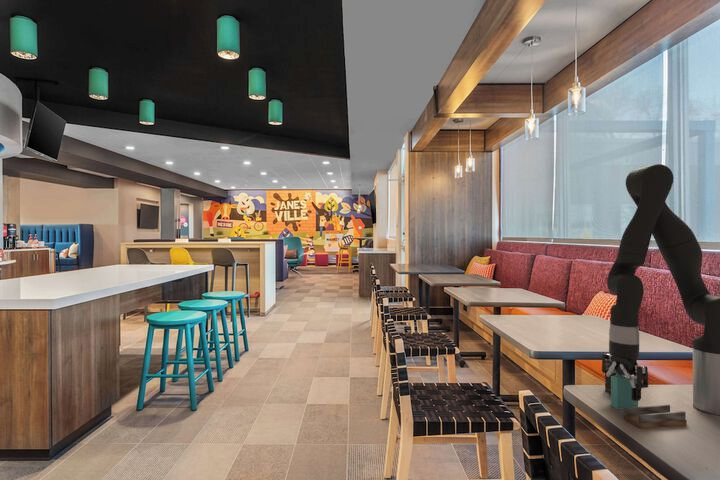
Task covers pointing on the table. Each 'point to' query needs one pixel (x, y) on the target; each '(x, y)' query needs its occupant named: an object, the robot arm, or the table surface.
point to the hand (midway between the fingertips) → (623, 394)
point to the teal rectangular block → (621, 392)
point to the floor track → (654, 416)
